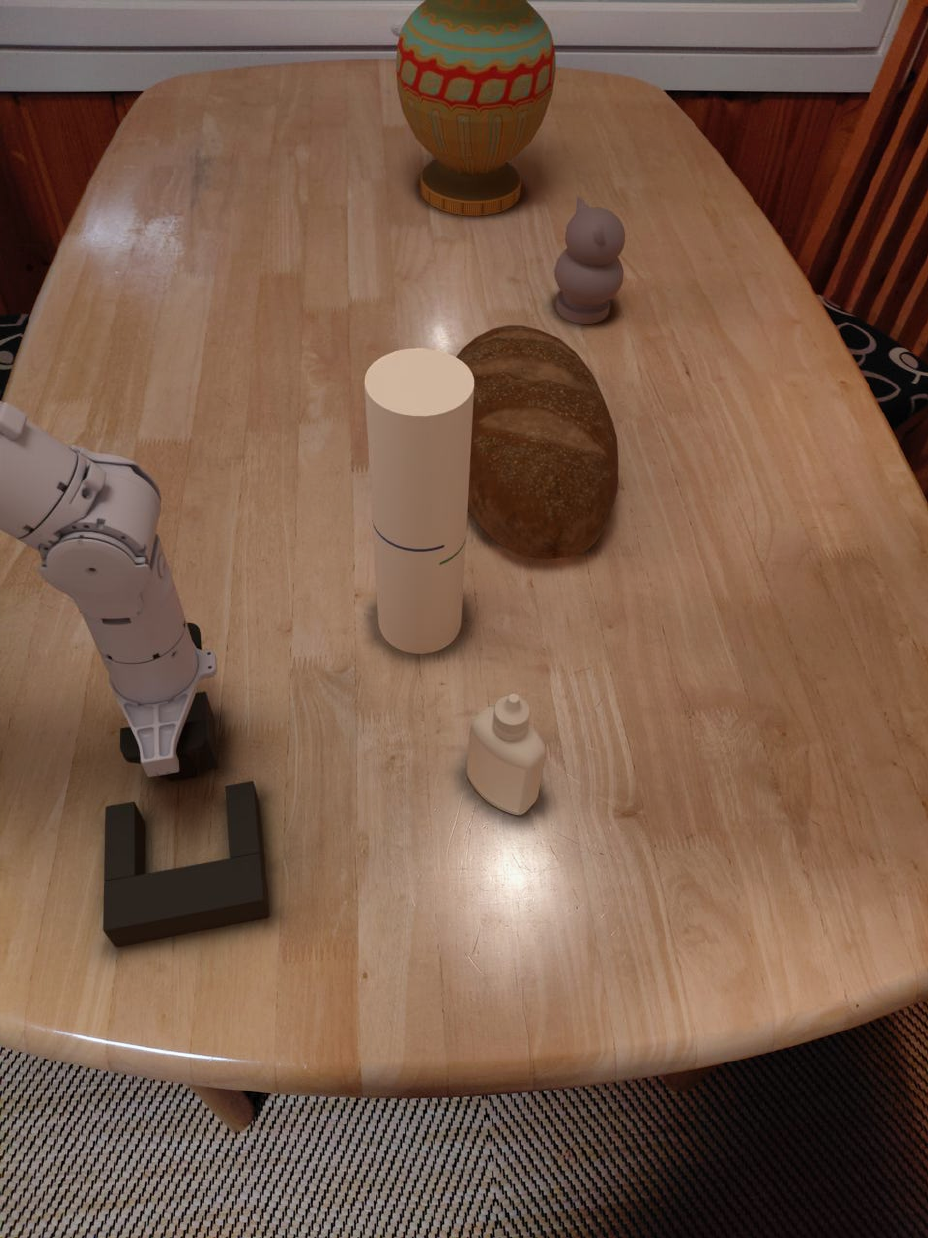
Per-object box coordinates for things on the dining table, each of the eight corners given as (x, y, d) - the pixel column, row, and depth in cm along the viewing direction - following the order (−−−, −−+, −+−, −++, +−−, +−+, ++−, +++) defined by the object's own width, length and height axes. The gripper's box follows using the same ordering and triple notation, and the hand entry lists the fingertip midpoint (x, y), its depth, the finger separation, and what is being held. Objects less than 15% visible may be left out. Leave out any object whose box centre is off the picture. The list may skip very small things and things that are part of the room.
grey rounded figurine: (627, 324, 109) (647, 227, 100) (564, 333, 107) (578, 235, 98) (600, 285, 114) (617, 188, 105) (540, 293, 112) (551, 196, 103)
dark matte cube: (158, 778, 70) (145, 750, 67) (157, 729, 72) (145, 700, 69) (218, 768, 70) (208, 740, 67) (214, 719, 73) (205, 690, 70)
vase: (546, 163, 134) (572, -93, 110) (538, 234, 121) (566, -37, 98) (409, 151, 134) (406, -105, 111) (387, 220, 122) (379, -52, 99)
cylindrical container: (369, 598, 81) (353, 357, 62) (447, 581, 83) (455, 341, 63) (390, 662, 77) (379, 424, 58) (472, 643, 79) (488, 405, 59)
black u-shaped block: (114, 947, 62) (102, 931, 59) (116, 825, 67) (105, 806, 65) (269, 917, 63) (264, 899, 61) (258, 800, 69) (253, 780, 67)
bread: (469, 578, 83) (475, 484, 74) (427, 377, 101) (428, 282, 92) (637, 563, 85) (662, 469, 76) (567, 368, 103) (581, 275, 94)
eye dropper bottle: (487, 828, 68) (498, 742, 59) (461, 764, 71) (467, 673, 62) (542, 810, 69) (561, 723, 60) (514, 748, 72) (528, 656, 63)
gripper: (209, 711, 56) (242, 815, 67) (198, 539, 65) (229, 655, 75) (87, 731, 55) (141, 834, 65) (93, 553, 64) (139, 669, 74)
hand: (182, 739), depth 70 cm, fingers open, 6 cm apart
